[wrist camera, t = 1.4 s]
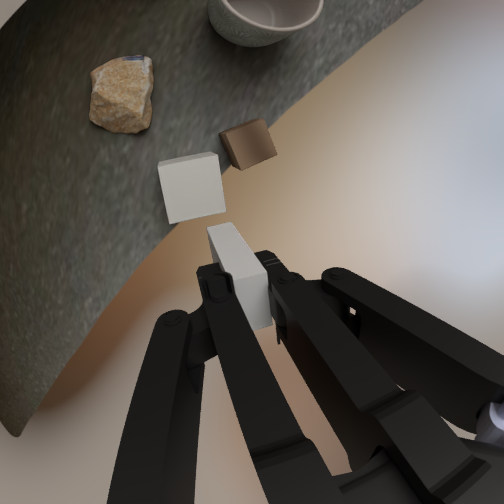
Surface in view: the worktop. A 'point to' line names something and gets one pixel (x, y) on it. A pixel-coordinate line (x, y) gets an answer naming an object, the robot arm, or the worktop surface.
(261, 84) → the worktop surface
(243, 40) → the planter
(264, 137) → the walnut block
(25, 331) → the worktop surface
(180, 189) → the block
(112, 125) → the stone
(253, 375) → the robot arm
